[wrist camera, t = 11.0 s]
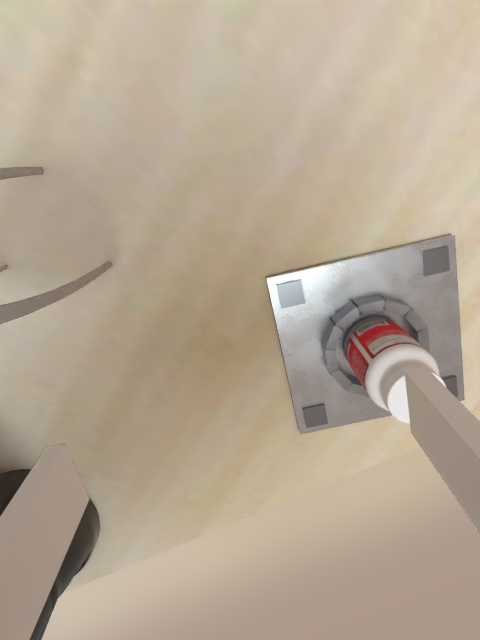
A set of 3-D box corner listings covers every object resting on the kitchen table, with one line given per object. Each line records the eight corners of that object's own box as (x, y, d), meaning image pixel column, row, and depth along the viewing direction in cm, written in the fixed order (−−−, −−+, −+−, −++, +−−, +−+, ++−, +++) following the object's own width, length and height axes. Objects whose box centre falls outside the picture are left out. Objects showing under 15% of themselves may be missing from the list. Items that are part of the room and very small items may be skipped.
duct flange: (298, 430, 47) (302, 445, 45) (265, 276, 41) (268, 284, 39) (460, 396, 46) (474, 409, 44) (450, 234, 40) (466, 238, 38)
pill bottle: (378, 380, 45) (423, 444, 34) (330, 353, 44) (361, 411, 33) (415, 332, 43) (474, 385, 33) (366, 303, 42) (411, 348, 31)
